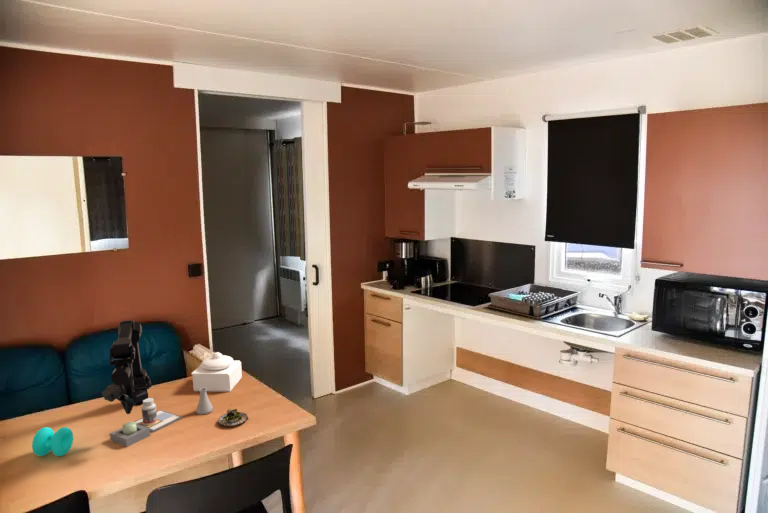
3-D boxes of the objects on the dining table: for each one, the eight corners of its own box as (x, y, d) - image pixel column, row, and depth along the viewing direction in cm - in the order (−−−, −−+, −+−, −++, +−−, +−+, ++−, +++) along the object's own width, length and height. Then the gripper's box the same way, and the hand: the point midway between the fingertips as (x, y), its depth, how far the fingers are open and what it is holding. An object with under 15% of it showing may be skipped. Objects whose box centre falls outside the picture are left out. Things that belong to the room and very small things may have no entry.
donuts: (50, 447, 200) (47, 422, 198) (76, 447, 199) (73, 422, 198) (32, 461, 190) (28, 435, 188) (59, 461, 190) (56, 435, 188)
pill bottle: (140, 422, 216) (138, 400, 215) (153, 418, 220) (151, 395, 219) (146, 426, 213) (144, 403, 211) (159, 422, 217) (157, 399, 215)
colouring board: (130, 424, 217) (130, 422, 216) (160, 410, 228) (160, 409, 228) (153, 432, 210) (153, 430, 209) (182, 418, 222) (182, 416, 221)
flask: (216, 407, 231) (214, 385, 229) (209, 415, 224) (207, 392, 222) (200, 407, 232) (198, 385, 230) (192, 414, 225) (190, 392, 223)
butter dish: (230, 391, 248) (228, 359, 245) (192, 391, 249) (190, 359, 246) (242, 377, 265) (240, 346, 262) (206, 377, 266) (204, 346, 263)
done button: (120, 435, 205) (119, 425, 204) (132, 430, 209) (131, 420, 208) (128, 438, 202) (127, 428, 201) (139, 433, 206) (138, 423, 206)
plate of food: (216, 430, 211) (215, 413, 210) (219, 417, 222) (218, 400, 221) (247, 427, 214) (246, 409, 212) (248, 414, 225) (247, 397, 224)
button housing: (110, 440, 204) (109, 433, 203) (134, 429, 212) (133, 422, 212) (127, 447, 199) (126, 439, 198) (150, 435, 207) (149, 428, 207)
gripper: (89, 377, 199) (93, 416, 202) (120, 387, 190) (124, 428, 193) (116, 368, 209) (120, 405, 211) (147, 376, 199) (151, 415, 202)
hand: (128, 413), depth 204 cm, fingers closed
